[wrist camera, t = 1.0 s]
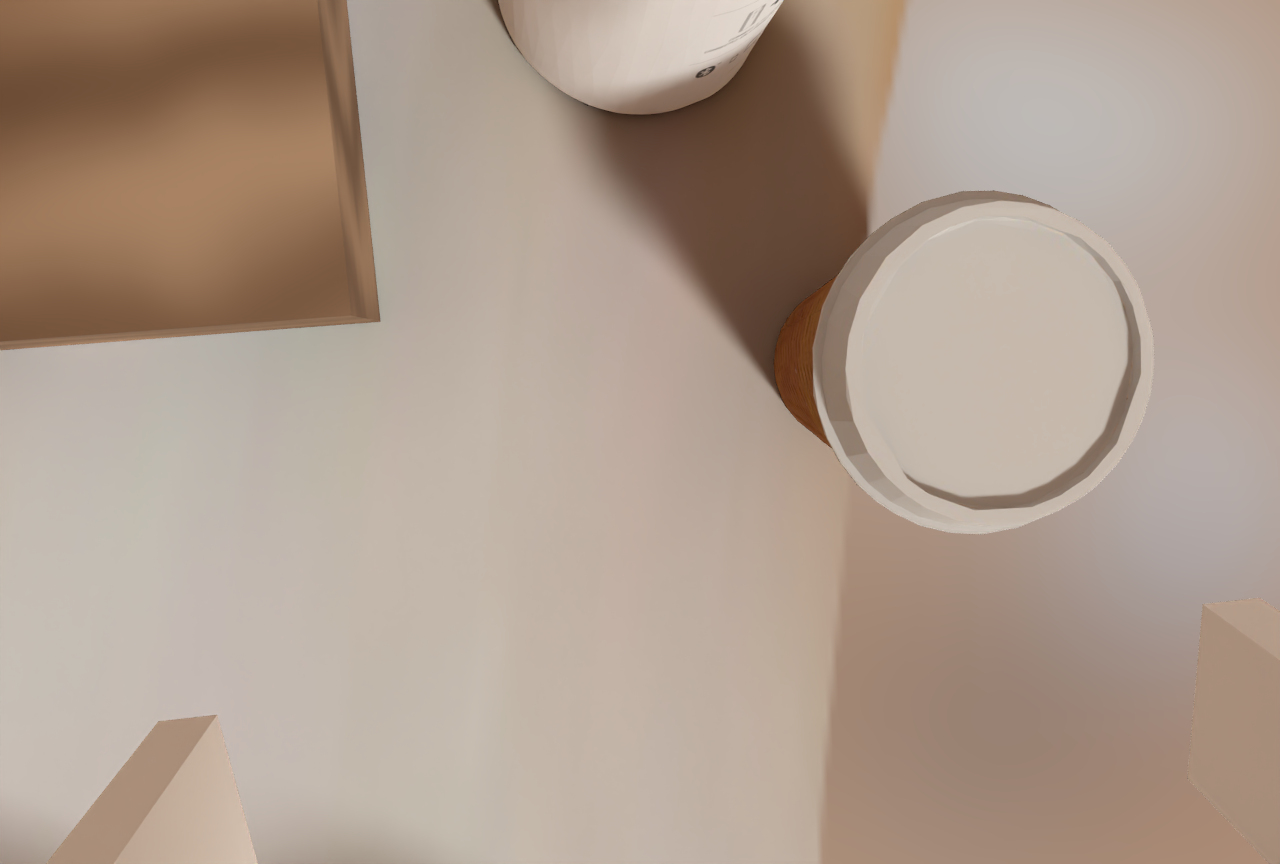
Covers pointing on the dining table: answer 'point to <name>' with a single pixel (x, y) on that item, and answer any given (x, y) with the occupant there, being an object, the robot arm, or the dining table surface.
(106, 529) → the dining table surface
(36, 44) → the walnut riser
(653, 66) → the speaker
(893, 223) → the disposable coffee cup
